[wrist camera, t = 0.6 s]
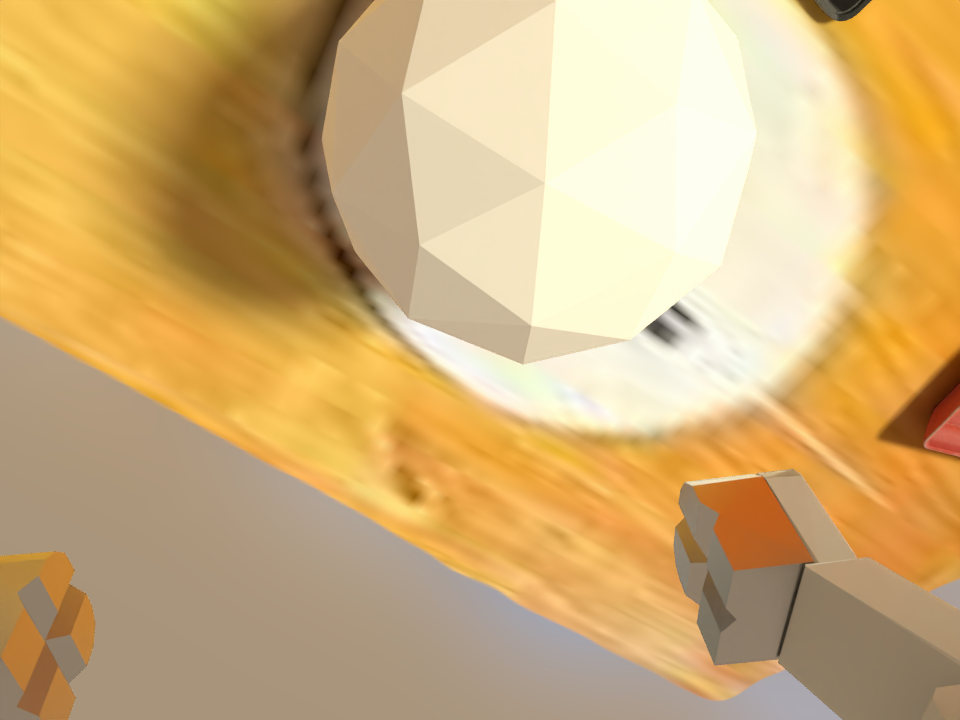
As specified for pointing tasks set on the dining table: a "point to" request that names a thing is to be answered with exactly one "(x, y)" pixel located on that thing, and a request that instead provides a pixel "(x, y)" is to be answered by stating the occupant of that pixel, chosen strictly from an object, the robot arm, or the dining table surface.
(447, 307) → the geometric orb
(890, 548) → the dining table surface
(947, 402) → the plant saucer
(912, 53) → the dining table surface
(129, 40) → the dining table surface
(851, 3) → the phone
